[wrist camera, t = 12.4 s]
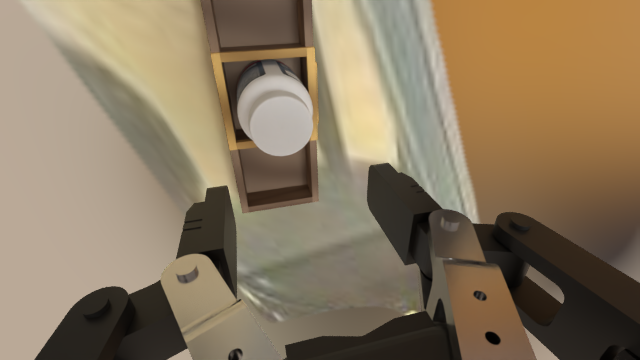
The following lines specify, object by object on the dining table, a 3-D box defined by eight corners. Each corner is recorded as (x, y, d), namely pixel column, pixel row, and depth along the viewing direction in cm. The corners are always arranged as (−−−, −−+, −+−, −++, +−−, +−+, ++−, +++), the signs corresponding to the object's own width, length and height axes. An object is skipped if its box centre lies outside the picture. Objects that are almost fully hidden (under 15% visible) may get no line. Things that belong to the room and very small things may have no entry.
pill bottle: (239, 120, 27) (240, 168, 20) (233, 57, 24) (232, 85, 17) (298, 118, 28) (320, 163, 21) (299, 58, 25) (325, 85, 18)
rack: (193, -61, 21) (185, -73, 18) (303, -61, 22) (315, -71, 19) (241, 193, 32) (242, 216, 28) (313, 182, 33) (322, 203, 30)
